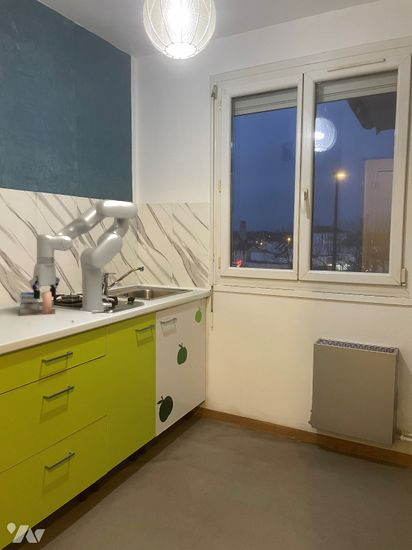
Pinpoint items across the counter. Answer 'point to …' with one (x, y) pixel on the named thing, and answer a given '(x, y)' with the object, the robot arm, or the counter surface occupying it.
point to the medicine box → (27, 297)
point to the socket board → (31, 309)
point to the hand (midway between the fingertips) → (44, 297)
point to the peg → (47, 302)
